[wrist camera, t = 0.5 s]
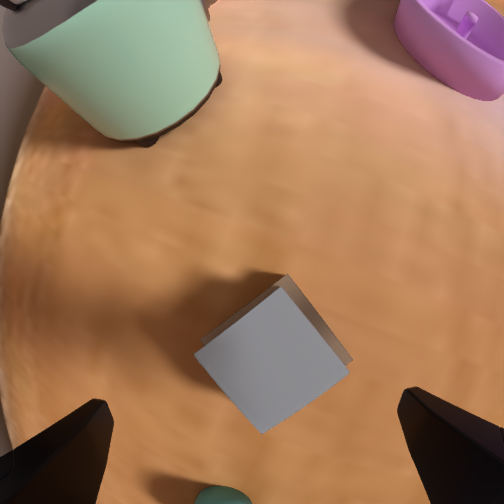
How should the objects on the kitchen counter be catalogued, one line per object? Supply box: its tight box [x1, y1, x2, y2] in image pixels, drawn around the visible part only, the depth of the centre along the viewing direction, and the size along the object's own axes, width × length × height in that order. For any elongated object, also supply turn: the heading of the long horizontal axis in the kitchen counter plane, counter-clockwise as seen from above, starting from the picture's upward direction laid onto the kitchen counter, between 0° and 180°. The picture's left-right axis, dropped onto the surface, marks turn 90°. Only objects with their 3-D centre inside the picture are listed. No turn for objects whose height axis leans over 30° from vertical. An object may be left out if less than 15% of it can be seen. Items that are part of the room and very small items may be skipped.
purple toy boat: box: [394, 0, 504, 101], centre depth 15 cm, size 25×15×13 cm, turn 93°
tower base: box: [200, 274, 353, 366], centre depth 19 cm, size 7×7×3 cm
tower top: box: [193, 287, 350, 434], centre depth 16 cm, size 6×6×3 cm
